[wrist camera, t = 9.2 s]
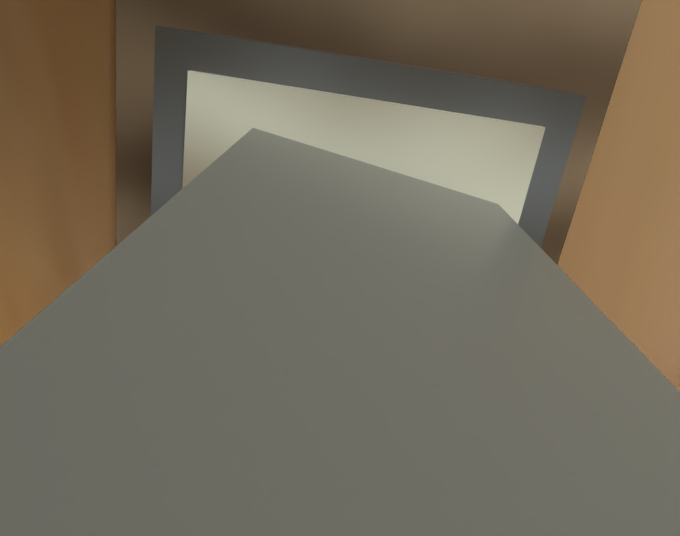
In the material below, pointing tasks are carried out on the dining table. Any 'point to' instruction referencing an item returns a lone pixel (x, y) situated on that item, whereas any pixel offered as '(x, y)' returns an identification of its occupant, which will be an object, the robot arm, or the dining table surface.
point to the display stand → (373, 93)
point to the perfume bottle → (331, 373)
